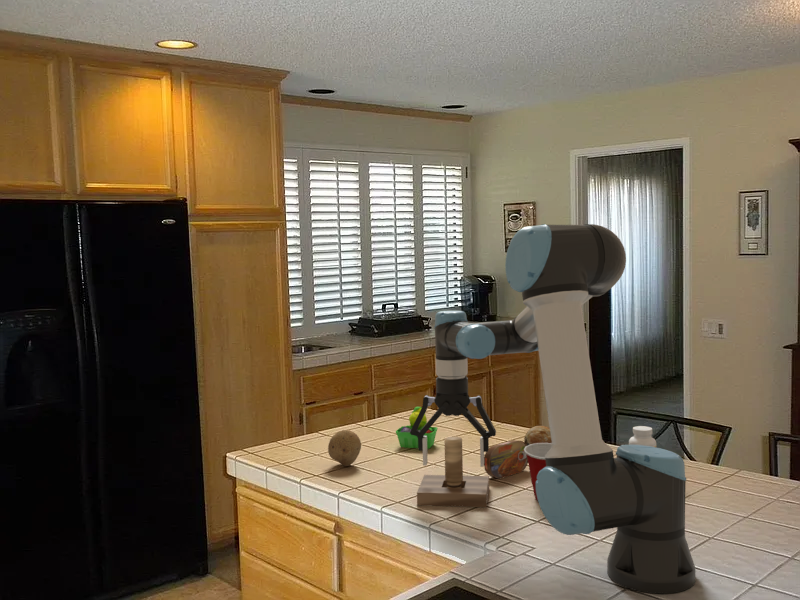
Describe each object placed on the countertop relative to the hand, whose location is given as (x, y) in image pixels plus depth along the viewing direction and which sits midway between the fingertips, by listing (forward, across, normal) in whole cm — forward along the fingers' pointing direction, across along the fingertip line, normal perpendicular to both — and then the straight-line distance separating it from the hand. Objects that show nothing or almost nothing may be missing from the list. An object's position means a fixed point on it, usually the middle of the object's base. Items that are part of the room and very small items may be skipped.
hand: (453, 464), depth 188 cm
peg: (+8, 0, 0) cm, 8 cm away
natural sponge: (+8, +32, -23) cm, 40 cm away
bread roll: (+8, -22, -48) cm, 53 cm away
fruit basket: (+8, +15, -46) cm, 49 cm away
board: (+8, 0, 0) cm, 8 cm away
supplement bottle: (+8, -46, -18) cm, 50 cm away
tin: (+8, -12, -19) cm, 24 cm away
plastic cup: (+8, -22, 0) cm, 23 cm away
